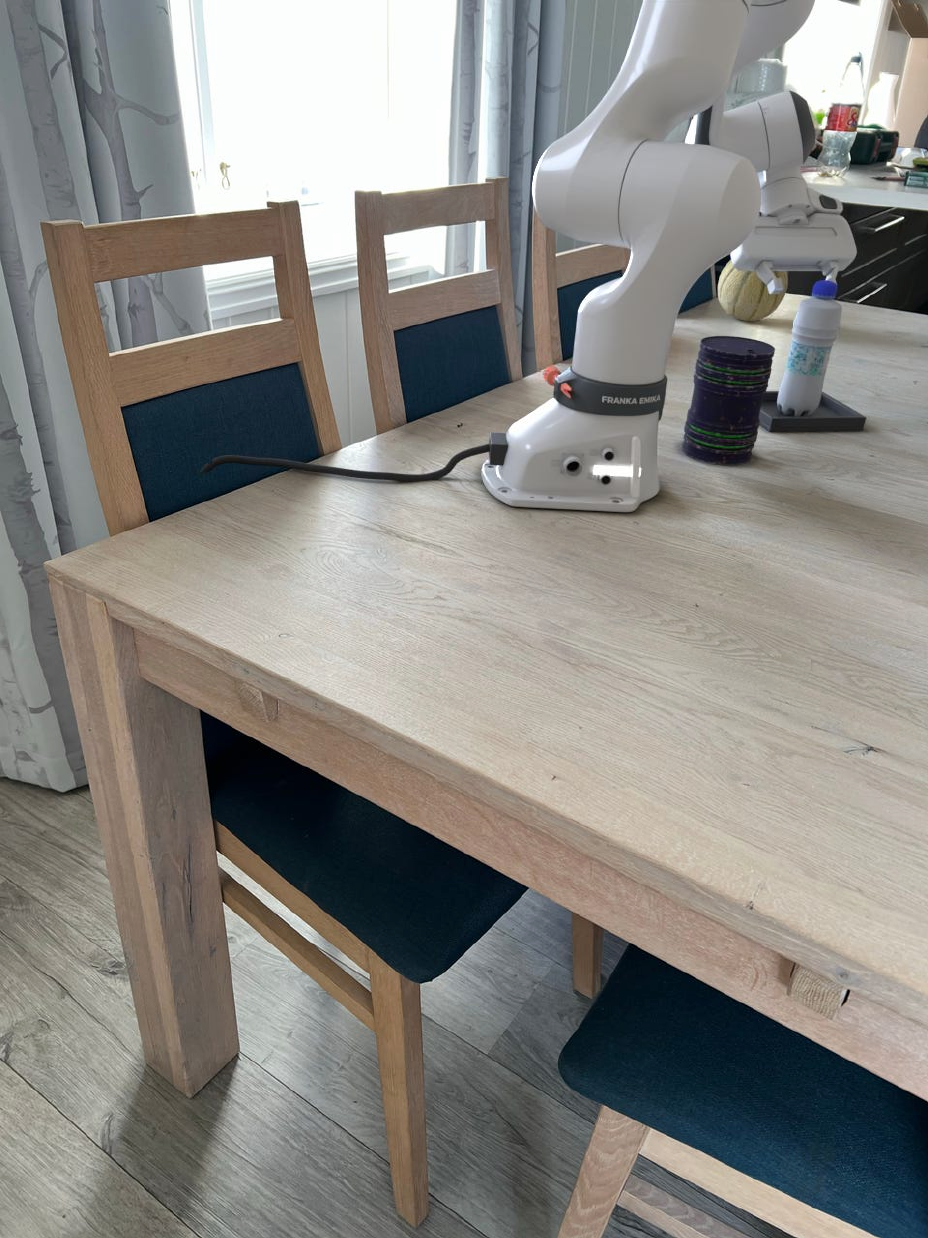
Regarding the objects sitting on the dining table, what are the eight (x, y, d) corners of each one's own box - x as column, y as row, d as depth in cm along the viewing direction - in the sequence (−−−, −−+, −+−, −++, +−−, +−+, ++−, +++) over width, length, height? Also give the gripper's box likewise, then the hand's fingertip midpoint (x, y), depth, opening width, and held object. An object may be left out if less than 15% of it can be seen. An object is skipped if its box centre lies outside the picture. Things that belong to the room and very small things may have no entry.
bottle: (820, 421, 144) (854, 286, 134) (775, 416, 145) (805, 282, 135) (814, 409, 150) (847, 278, 140) (771, 404, 151) (801, 274, 141)
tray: (769, 431, 141) (772, 418, 140) (730, 403, 152) (733, 390, 151) (863, 430, 144) (866, 417, 143) (818, 403, 155) (821, 390, 154)
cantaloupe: (738, 309, 217) (751, 240, 209) (792, 323, 207) (809, 251, 200) (697, 316, 209) (710, 244, 201) (753, 330, 199) (768, 255, 192)
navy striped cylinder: (667, 443, 134) (685, 336, 126) (725, 438, 137) (746, 334, 130) (706, 468, 126) (728, 356, 118) (767, 462, 129) (791, 353, 122)
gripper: (733, 198, 141) (754, 279, 138) (850, 200, 146) (873, 279, 143) (713, 225, 147) (733, 304, 144) (826, 227, 152) (847, 303, 149)
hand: (803, 291), depth 143 cm, fingers open, 8 cm apart
